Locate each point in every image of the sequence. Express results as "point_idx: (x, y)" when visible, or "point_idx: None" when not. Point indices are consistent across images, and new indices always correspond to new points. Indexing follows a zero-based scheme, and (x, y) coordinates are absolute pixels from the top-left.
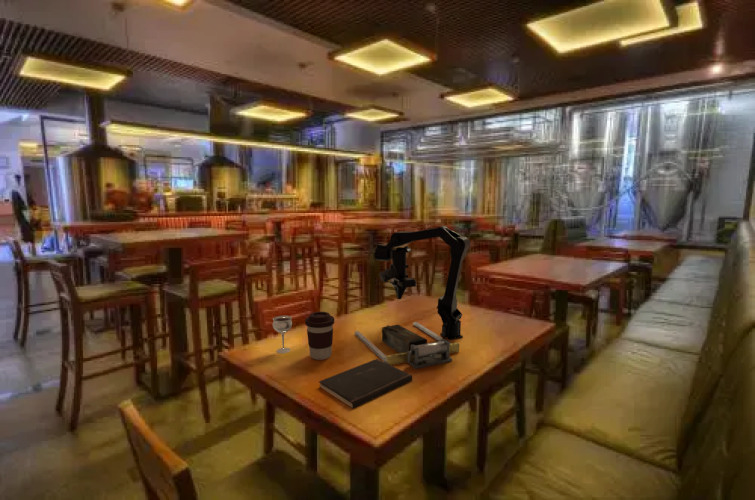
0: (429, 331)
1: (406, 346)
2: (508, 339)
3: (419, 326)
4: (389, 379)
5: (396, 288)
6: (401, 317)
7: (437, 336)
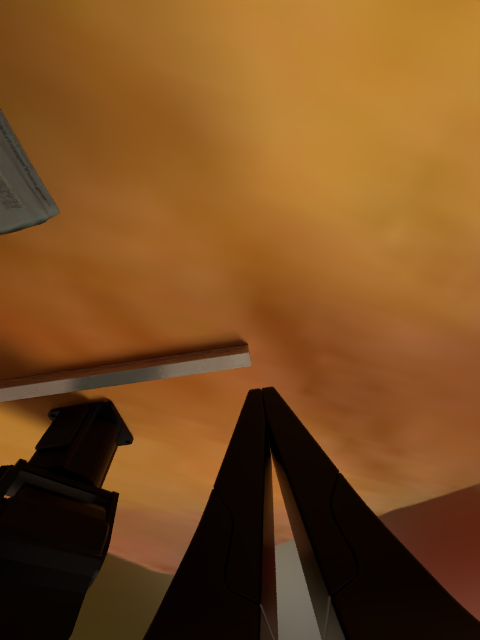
0: (111, 378)
1: None
2: None
3: (187, 360)
4: None
5: (314, 563)
6: (373, 326)
7: (46, 387)
